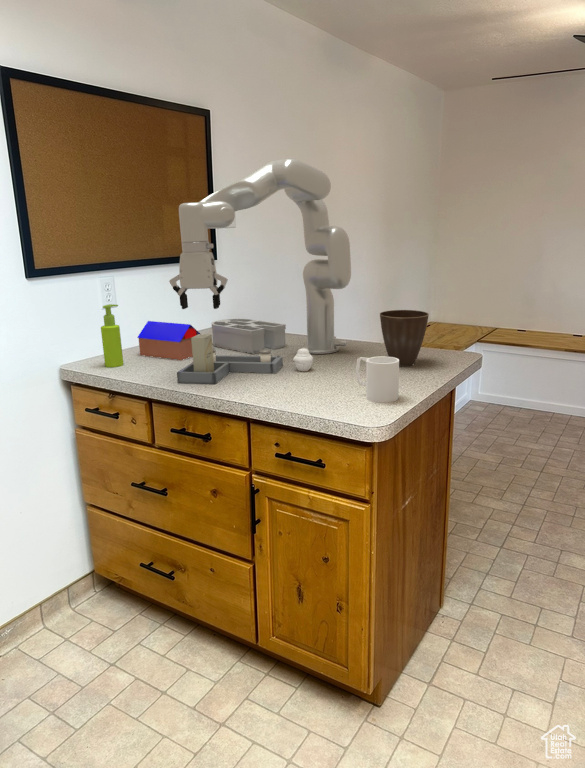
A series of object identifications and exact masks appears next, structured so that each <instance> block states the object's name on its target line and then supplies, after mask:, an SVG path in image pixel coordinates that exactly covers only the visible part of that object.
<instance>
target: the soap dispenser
mask: <svg viewBox="0 0 585 768" xmlns="http://www.w3.org/2000/svg"><path fill="white" fill-rule="evenodd" d="M114 307H119V304H113V303H109V304H105V305H103V306H102V309H105V310H104V311H105V314H104V315H103V323H104V324H103V325H102V326H100V334H101V340H102V341H101V342H102V350H103V359H104V366H105V367H106V368H119V367H122V366H124V355H123V347H122V339H121V338H122V337H121V329H120V324H119V325H118V324H116V319H115V315H114V314H112V309H111V308H114Z"/></svg>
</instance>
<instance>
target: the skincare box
mask: <svg viewBox="0 0 585 768" xmlns="http://www.w3.org/2000/svg"><path fill="white" fill-rule="evenodd" d="M191 341H192V353H193V357H192V362H193V365H194V372H214V361H213V349H214V348H213V334H210V333H208V334H206V333H205V334H203V333H200V334H198V335H196V336H194V337H192V338H191Z"/></svg>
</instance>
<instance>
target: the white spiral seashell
mask: <svg viewBox="0 0 585 768" xmlns="http://www.w3.org/2000/svg"><path fill="white" fill-rule="evenodd" d="M296 352H297V353H296V355H294V357H293V358H292V359H293V362H294V365H295V367H296V368H297V369H296V370H298V371H299V372H307V371H309V370H310V369H311V366H312V364H313V362H314V357H313V356H312V355H311V353H309V350H308V349H305V348H303V347H302V348H299V349H298V350H297V351H296Z"/></svg>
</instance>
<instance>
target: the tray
mask: <svg viewBox="0 0 585 768" xmlns="http://www.w3.org/2000/svg"><path fill="white" fill-rule="evenodd" d="M229 372H230V366H229V362H214V372H194V365H193V361H192V362H191V363H189V364H188V365H186V366H185V367H183V368H181V369H180V370H178V371H177V372H176V378H177V379H176V380H177V381H176V382H177V384H189V385H190V384H193V385H194V384H195V385H198V384H199V385H216V384H218V383H219V382H220V381H221V380H223V379H224V378H225V377H226V376H227V375H228V373H229ZM230 373H231V372H230ZM230 373H229V374H230ZM224 376H225V377H224ZM223 377H224V378H223ZM222 378H223V379H222ZM218 381H219V382H218ZM217 382H218V383H217Z"/></svg>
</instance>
